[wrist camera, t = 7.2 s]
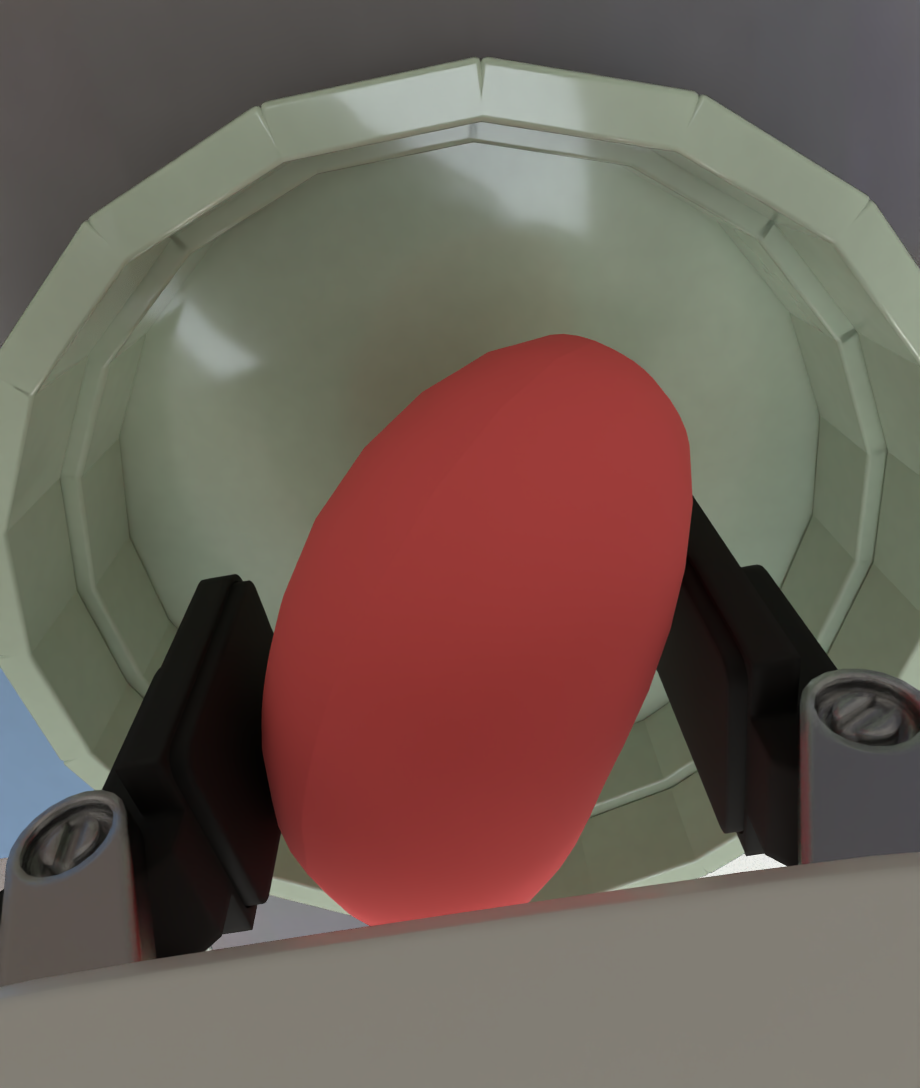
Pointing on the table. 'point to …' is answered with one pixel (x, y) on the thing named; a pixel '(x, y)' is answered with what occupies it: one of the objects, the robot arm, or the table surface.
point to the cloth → (27, 769)
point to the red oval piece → (477, 631)
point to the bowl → (437, 352)
